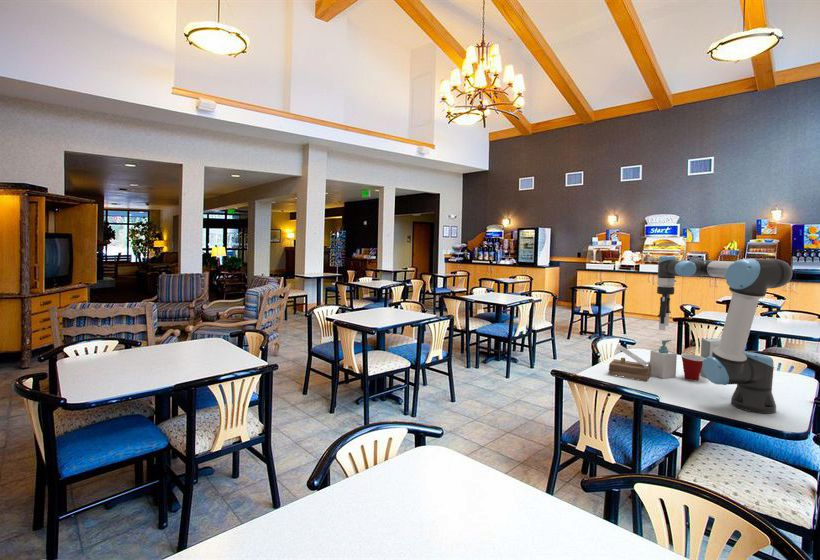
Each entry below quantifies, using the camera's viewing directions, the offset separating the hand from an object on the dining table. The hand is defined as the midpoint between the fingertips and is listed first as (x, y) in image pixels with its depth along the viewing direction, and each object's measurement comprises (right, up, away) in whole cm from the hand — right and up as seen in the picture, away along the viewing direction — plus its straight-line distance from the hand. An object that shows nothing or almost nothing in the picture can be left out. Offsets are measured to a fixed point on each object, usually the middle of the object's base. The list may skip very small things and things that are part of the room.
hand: (663, 327), depth 221 cm
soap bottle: (+4, -26, +9) cm, 28 cm away
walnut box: (-13, -26, +9) cm, 31 cm away
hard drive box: (+32, -27, +6) cm, 42 cm away
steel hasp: (-12, -16, +8) cm, 22 cm away
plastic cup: (+16, -27, +3) cm, 31 cm away
